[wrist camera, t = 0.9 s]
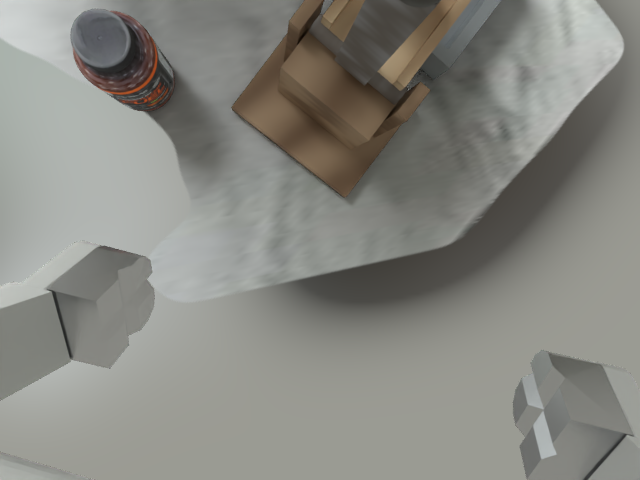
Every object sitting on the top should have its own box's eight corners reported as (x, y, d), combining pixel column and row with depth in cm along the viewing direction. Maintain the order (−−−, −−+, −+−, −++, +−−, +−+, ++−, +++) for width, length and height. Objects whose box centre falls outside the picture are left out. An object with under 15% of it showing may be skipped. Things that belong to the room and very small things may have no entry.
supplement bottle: (137, 125, 41) (90, 99, 30) (97, 70, 40) (33, 23, 29) (189, 90, 42) (161, 52, 30) (151, 35, 41) (107, -25, 29)
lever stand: (232, 109, 42) (220, 80, 31) (306, 11, 42) (320, -52, 31) (343, 197, 44) (368, 198, 34) (414, 104, 44) (462, 75, 33)
